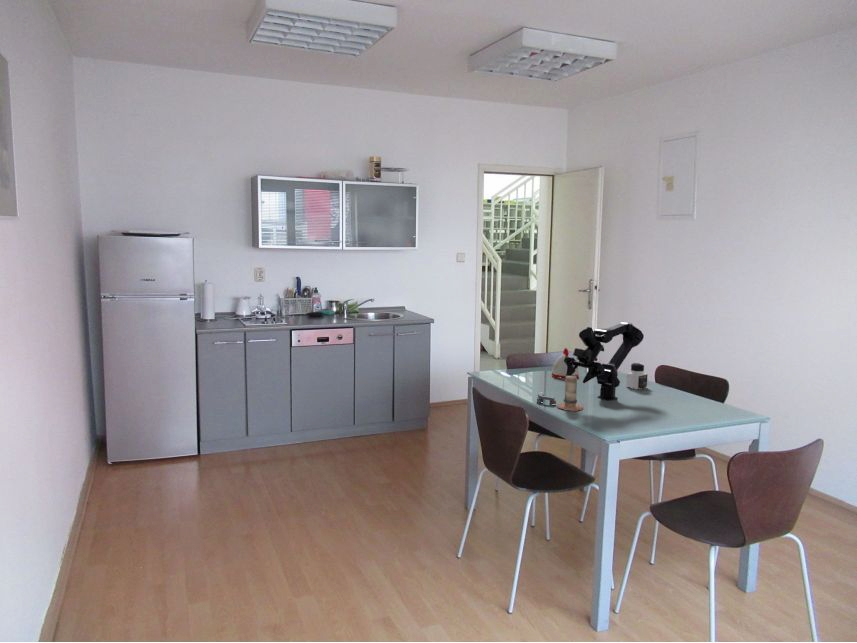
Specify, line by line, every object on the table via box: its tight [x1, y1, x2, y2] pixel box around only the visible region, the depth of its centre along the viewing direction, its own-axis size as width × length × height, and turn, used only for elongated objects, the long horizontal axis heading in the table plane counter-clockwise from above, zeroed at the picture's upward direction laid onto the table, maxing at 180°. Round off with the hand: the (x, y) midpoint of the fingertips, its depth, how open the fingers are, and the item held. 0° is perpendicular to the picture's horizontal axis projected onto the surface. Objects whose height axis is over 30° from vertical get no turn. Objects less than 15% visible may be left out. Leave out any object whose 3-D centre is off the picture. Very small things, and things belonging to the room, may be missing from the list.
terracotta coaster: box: [556, 402, 584, 412], centre depth 278 cm, size 11×11×1 cm
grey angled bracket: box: [536, 391, 557, 405], centre depth 286 cm, size 7×13×3 cm, turn 30°
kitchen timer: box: [551, 347, 579, 379], centre depth 339 cm, size 14×14×15 cm
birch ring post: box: [563, 376, 578, 408], centre depth 277 cm, size 6×6×13 cm
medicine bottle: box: [625, 362, 649, 390], centre depth 315 cm, size 7×7×12 cm
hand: (574, 380), depth 278 cm, fingers open, 9 cm apart
